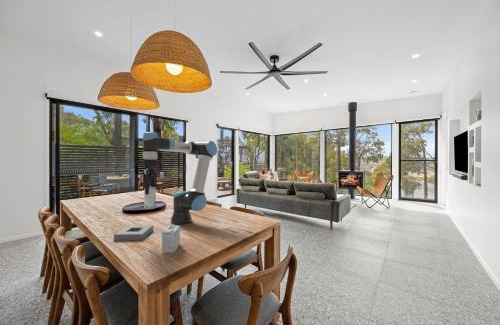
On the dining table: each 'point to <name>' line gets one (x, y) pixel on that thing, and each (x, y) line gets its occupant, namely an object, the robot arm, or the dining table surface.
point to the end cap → (152, 202)
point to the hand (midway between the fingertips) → (150, 198)
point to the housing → (133, 233)
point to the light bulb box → (170, 239)
